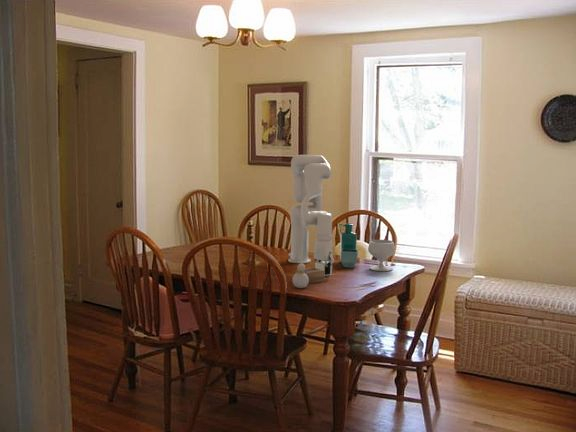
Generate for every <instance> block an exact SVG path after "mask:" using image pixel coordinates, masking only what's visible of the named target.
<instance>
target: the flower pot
mask: <svg viewBox="0 0 576 432" xmlns="http://www.w3.org/2000/svg"><path fill="white" fill-rule="evenodd" d="M358 256H359V249H357V250H356V249H342V250H341V261H342V263H341V264H342V266H343V268H349V269H350V268H354V267H355V266H356V263H357V260H358ZM341 261H340V262H341Z"/></svg>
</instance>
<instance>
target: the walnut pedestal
mask: <svg viewBox="0 0 576 432" xmlns="http://www.w3.org/2000/svg"><path fill="white" fill-rule="evenodd" d="M294 270H295V273H294V275H295V274H296V273H297V271H298V268H295V269H294ZM304 273H305V274H307V276H308V278H309V282H308V285H309V284H316V283H323V282H328V278H326V277H325V276H324V270H320V269H317V268H315V267H313V266H311V267H305V270H304ZM291 278H292V279H293V276H292V277H291ZM292 279H291V280H292Z"/></svg>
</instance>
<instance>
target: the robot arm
mask: <svg viewBox="0 0 576 432" xmlns="http://www.w3.org/2000/svg"><path fill="white" fill-rule="evenodd" d="M290 167H291V171H292V175H293V182H292V183H293V186H292V187H293V190H292V191H293V193H292V194H293V201H295V203H301V204H295V205H293V206H292V207H290V209H289V210H290V211H289V215H290V222H291V224H290V227H291V228H290V229H291V234H290V235H291V236H290V237H291V241H290V246H291V247H290V250H291V251H290V252H288V256H290V257H289V258H288V259H287V260H288V262H289V263H292V264H300V262H301V263H302V264H308V263H310V262H311V261H312V259H311V258H309V231H310V230H309V228H308V227H316V239H315V242H314V249H313V258H314V261H315V262H322V261H325V265H326V267H325V275H327V274H330V269H331V265H332V266H333V264H334V262H335V259H334V251H333V249H334V248H333V242H332V239H333V238H332V236H333V235H332V234H333V215H332V213H328V211H325V210H322V207H323V206H322V204H323V202H322V201H323V193H324V187H323V180H330V178H331V177H332V169H331V166H330V164H329V162H328V161H327V160H326V158H325V157H324V156H323V155H321V154H296V155H294V156H292V158H291V161H290ZM309 203H311V204H309ZM327 262H329V263H327Z"/></svg>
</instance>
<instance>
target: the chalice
mask: <svg viewBox="0 0 576 432" xmlns="http://www.w3.org/2000/svg"><path fill="white" fill-rule="evenodd" d="M395 246H396V245H395V243H394V241H392V240H388V239H372V240H370V242H369V244H368V247H367V248H368V249H367V251H368V253H369V255H371V256H373V257H374V258H375V259H377V260H378V262H379V264H378V265H374V266H373V265H372V266H370V267H369V270H371V271H376V272H390V271H393V269H394V268H392V267H390V266H385V265H384V261H385V260H386V259H388V258H390V257H392V256H393V255H394V254H395V252H396V247H395Z"/></svg>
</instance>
